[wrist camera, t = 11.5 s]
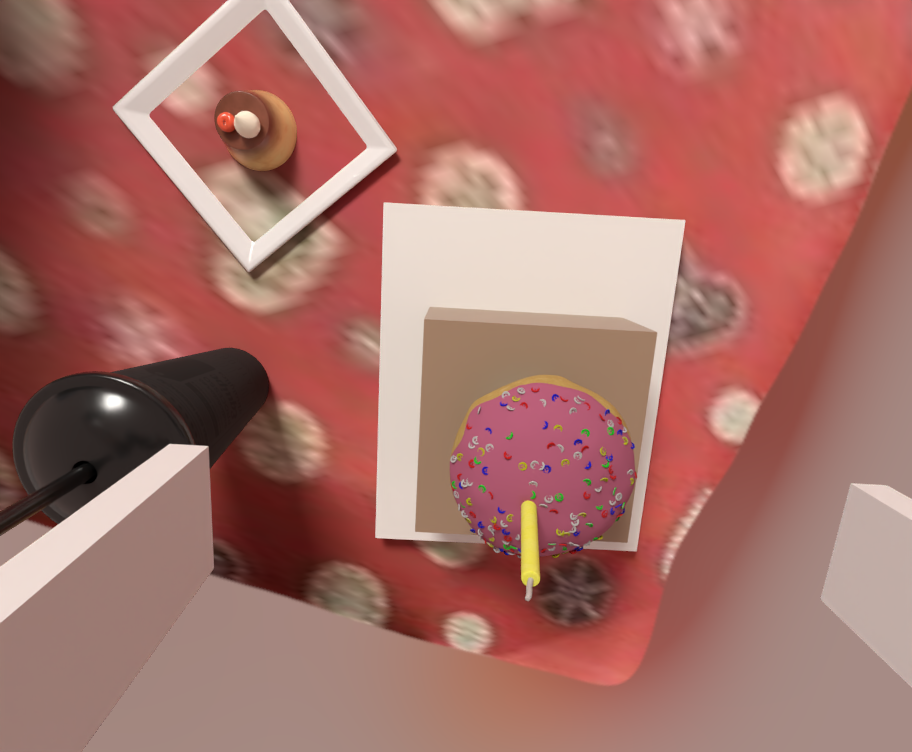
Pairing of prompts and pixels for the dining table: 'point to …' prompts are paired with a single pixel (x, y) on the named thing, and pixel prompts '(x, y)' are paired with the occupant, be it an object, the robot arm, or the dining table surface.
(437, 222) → the plinth
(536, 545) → the cupcake
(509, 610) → the dining table surface
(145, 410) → the drinking cup
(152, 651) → the robot arm
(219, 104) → the white square frame
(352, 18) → the dining table surface
